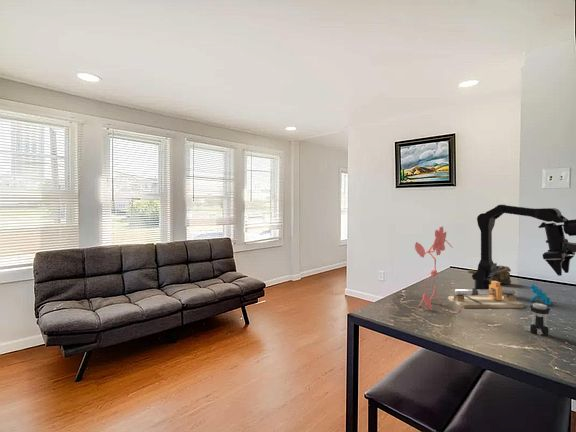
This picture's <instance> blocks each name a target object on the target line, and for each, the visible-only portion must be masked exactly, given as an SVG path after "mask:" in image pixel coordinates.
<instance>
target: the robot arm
mask: <svg viewBox="0 0 576 432" xmlns="http://www.w3.org/2000/svg"><path fill="white" fill-rule="evenodd" d="M561 212H562V211H561V210H559V209H558V208H554V207H553V208H551V207H550V208H549V207H548V208H544V207H543V208H533V207H531V208H530V207H524V206H515V205H514V206H513V205H507V204H498V205H496V206H495V207H494V208H491V209H490V210H488V211H485V212H484V213H480V214H478V215H477V217H476V222H477V226H478V228H479V230H480V260H479V263H478V265H477V270H476V271H477V272H476V273H475V274H471V278H472V280H474V289H489V285H490V283H489V280H488V279H491V277H492V276H493V275H495V273H496V271H497V269H496V266H498V264H497V262H494V261H493V259H492V258H493V257H492V256H493V254H492V253H493V249H492V247H493V246H492V245H493V241H492V239H493V237H492V235H493V229H494V227H495V225H496V224H495V223H496V220H497V219H499V218H500V217H501V216H503V214H510V215H517V216H523V217H524V216H525V217H530V218H534V219H537V220H541V221H543V222H541V223H540V225H539V226H538V228H539V229H543V228H544V231H545V236H546V239H547V240H545V243H546V244H548V250H547V251H545V252H544V253H542V259H543V260H544V261H545V262H546V263H547V264H548V265H549V266H550V267H551V268H552V270H553V271H554V273H555V274H556V275H557V276H559V277H562V275H563V272H564V273H566V274H568V273H569V271H570V262H571V260H572V259H573V258H574V257H575V256H576V242H570V241H569V239H568V238H566V236H565V235H568V236H569V237H574V236H575V237H576V218H575V219H568V218H566V217H565V216H564V215H563V214H562V213H561ZM562 223H563V224H562Z"/></svg>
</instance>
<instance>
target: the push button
mask: <svg viewBox="0 0 576 432" xmlns="http://www.w3.org/2000/svg"><path fill="white" fill-rule="evenodd" d="M529 308H530V311H531V312H532V322H531V323H530V325H529V326H526V325H524V330H525V331H529V332H530V333H532V334H537V335H539V336H545V337H549V327H548V324H547V315H549V313H550V311H551V308H550V307H548V304H547V305H546V304H545V303H542V302H541V303H540V302H533V303H532V304H531V305H529Z"/></svg>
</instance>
